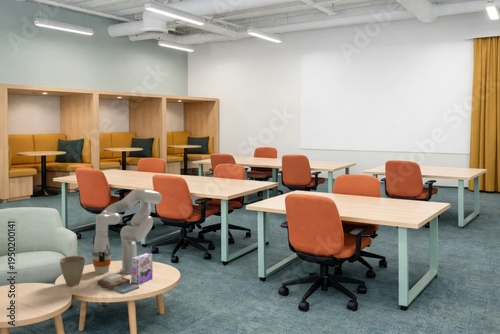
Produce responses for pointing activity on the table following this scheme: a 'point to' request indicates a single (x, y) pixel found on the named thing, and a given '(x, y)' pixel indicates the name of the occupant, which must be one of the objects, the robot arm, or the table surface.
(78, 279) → the plant pot
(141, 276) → the candy box
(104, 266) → the reusable coffee cup
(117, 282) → the brown flat square block
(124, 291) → the mat
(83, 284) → the table surface
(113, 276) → the tile
